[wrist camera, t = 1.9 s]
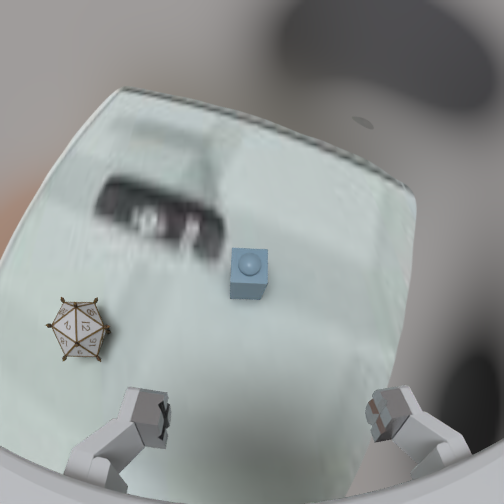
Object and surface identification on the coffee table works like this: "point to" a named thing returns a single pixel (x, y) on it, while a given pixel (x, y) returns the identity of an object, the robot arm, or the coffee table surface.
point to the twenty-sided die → (79, 329)
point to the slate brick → (248, 273)
